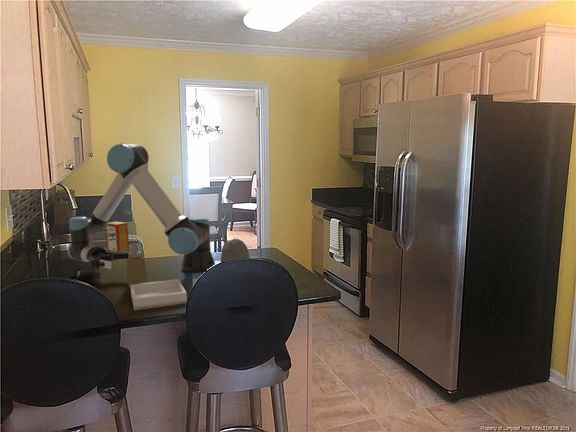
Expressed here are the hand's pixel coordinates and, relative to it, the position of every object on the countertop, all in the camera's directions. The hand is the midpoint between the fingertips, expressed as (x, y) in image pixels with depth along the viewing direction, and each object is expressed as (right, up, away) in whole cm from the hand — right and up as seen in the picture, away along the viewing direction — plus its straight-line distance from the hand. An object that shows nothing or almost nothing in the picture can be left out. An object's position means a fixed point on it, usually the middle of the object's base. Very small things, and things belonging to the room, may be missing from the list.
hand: (125, 261), depth 185 cm
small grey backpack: (+46, -10, -6) cm, 47 cm away
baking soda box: (-26, -1, +62) cm, 67 cm away
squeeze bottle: (+5, -10, -1) cm, 12 cm away
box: (+18, -12, -16) cm, 27 cm away
